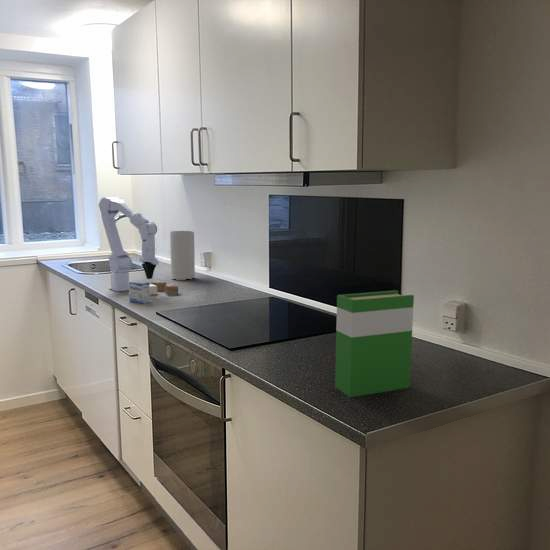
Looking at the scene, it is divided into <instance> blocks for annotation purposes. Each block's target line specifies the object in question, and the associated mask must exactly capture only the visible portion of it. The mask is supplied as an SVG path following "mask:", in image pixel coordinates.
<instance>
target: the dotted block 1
mask: <svg viewBox="0 0 550 550" xmlns="http://www.w3.org/2000/svg"><path fill="white" fill-rule="evenodd" d="M151 284H153V285H156V286H157V292H162V290H164V291H165V285H167V281H164V280H163V281H162V280H157V281H156V280H155V281H151Z"/></svg>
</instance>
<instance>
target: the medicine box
mask: <svg viewBox="0 0 550 550" xmlns="http://www.w3.org/2000/svg"><path fill="white" fill-rule="evenodd" d="M128 291H129V292H128V295H129V296H128V297H129V302H130V303H135V302H137V304H143V303H144V304H147V302H148V303H150V302H151V295H150V282H146V281H138V280H133V281H129V290H128Z"/></svg>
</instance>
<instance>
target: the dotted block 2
mask: <svg viewBox="0 0 550 550" xmlns="http://www.w3.org/2000/svg"><path fill="white" fill-rule="evenodd" d="M165 293H166V294H165ZM164 294H165V295H167V296H174V295H173V294H178V295H179V285H177V284H175V283H174V284H173V283H172V284H166V285H165V290H164Z"/></svg>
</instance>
